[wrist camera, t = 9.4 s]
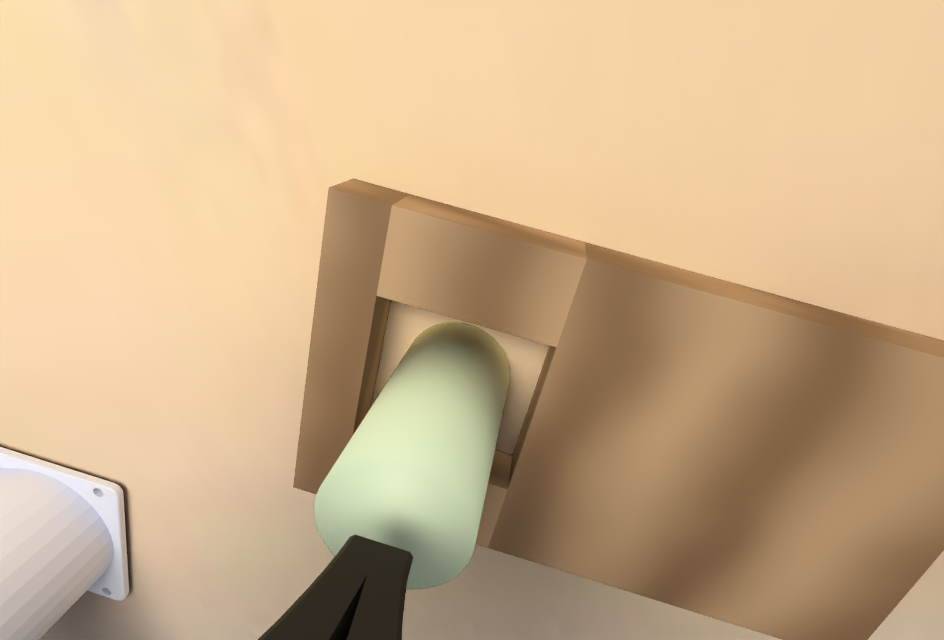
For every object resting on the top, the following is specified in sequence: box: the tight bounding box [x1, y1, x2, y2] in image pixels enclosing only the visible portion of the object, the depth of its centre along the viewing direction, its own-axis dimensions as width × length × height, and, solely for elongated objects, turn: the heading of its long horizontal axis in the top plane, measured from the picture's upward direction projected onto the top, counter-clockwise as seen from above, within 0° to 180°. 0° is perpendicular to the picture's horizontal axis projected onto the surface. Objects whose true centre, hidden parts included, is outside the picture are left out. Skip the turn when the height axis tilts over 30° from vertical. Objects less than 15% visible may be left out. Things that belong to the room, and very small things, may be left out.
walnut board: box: [293, 179, 944, 640], centre depth 19 cm, size 22×12×2 cm, turn 76°
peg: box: [314, 322, 510, 589], centre depth 16 cm, size 4×4×8 cm
